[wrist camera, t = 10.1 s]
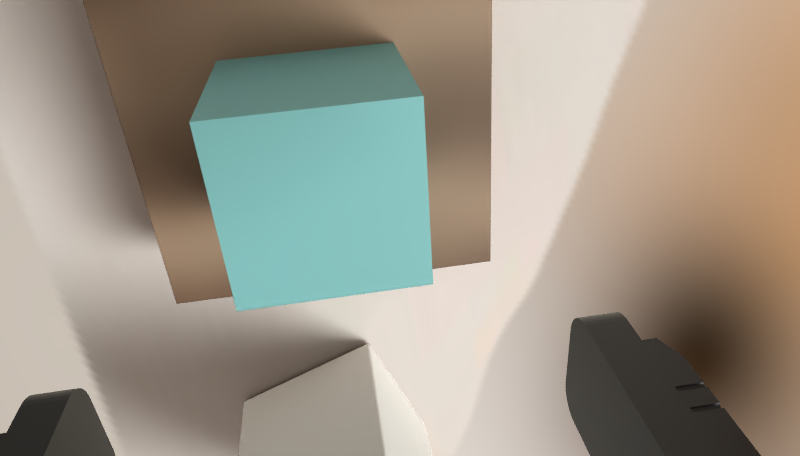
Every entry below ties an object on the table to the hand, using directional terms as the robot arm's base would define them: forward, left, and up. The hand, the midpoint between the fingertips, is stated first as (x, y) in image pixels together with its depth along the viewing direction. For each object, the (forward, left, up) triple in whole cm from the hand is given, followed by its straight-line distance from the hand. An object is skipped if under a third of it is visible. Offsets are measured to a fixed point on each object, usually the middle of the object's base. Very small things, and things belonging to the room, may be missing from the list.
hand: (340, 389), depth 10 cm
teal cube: (0, 0, -12) cm, 12 cm away
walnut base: (0, 0, -16) cm, 16 cm away
